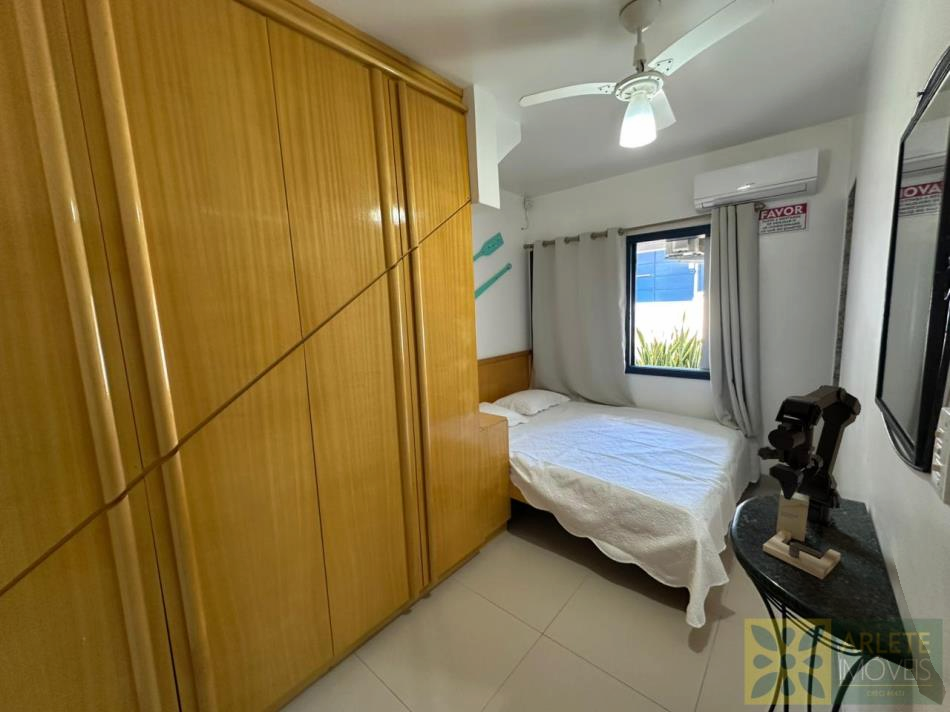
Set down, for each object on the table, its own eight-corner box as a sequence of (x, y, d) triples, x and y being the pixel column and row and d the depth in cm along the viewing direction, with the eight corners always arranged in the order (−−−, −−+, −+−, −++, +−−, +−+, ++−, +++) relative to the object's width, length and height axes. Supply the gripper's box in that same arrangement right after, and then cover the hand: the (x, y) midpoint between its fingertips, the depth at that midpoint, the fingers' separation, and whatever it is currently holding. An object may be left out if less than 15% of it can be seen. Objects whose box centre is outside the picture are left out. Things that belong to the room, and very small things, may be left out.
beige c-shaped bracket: (781, 535, 102) (783, 517, 101) (839, 560, 91) (842, 540, 90) (762, 551, 96) (764, 532, 95) (822, 579, 85) (824, 558, 85)
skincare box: (775, 533, 103) (778, 494, 101) (777, 526, 106) (780, 488, 104) (805, 542, 98) (808, 501, 97) (806, 534, 101) (809, 495, 100)
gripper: (777, 427, 110) (774, 474, 112) (748, 441, 101) (745, 492, 103) (825, 437, 100) (821, 489, 102) (799, 454, 91) (794, 510, 93)
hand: (794, 494), depth 101 cm, fingers open, 9 cm apart
